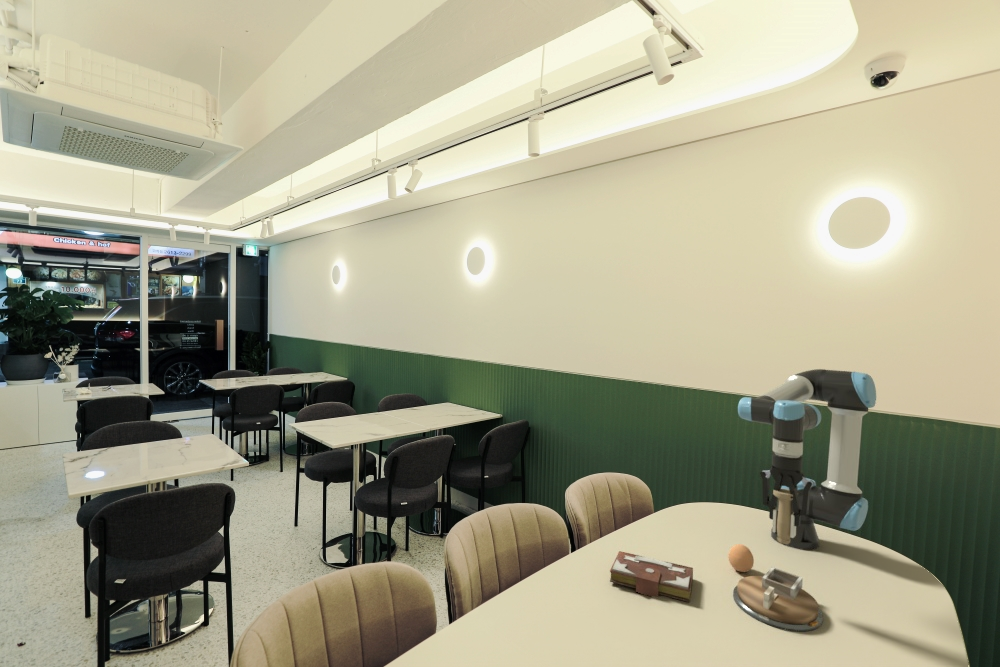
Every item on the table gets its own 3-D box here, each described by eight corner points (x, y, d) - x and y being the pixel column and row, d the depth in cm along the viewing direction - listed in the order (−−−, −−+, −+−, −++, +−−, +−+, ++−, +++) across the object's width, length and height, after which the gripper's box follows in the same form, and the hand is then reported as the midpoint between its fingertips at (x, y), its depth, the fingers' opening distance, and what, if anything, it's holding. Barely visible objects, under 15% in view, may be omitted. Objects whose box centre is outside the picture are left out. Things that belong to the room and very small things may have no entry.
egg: (747, 579, 149) (748, 552, 148) (724, 569, 154) (725, 544, 154) (756, 571, 154) (757, 545, 153) (733, 562, 159) (734, 537, 159)
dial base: (748, 576, 150) (748, 571, 150) (830, 607, 135) (831, 602, 135) (721, 604, 135) (721, 599, 135) (811, 643, 119) (811, 637, 119)
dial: (750, 574, 149) (751, 556, 149) (826, 603, 135) (826, 582, 134) (726, 600, 135) (727, 579, 135) (807, 634, 121) (808, 611, 120)
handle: (799, 545, 136) (801, 494, 136) (779, 546, 135) (781, 495, 135) (787, 538, 141) (789, 488, 140) (767, 538, 140) (769, 488, 139)
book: (692, 580, 148) (693, 564, 148) (689, 606, 134) (689, 589, 134) (619, 562, 158) (619, 547, 158) (608, 585, 144) (609, 569, 144)
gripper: (751, 450, 141) (748, 527, 141) (818, 463, 129) (814, 548, 129) (759, 446, 146) (756, 520, 147) (824, 458, 134) (821, 539, 134)
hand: (784, 533), depth 138 cm, fingers closed on handle, 4 cm apart
